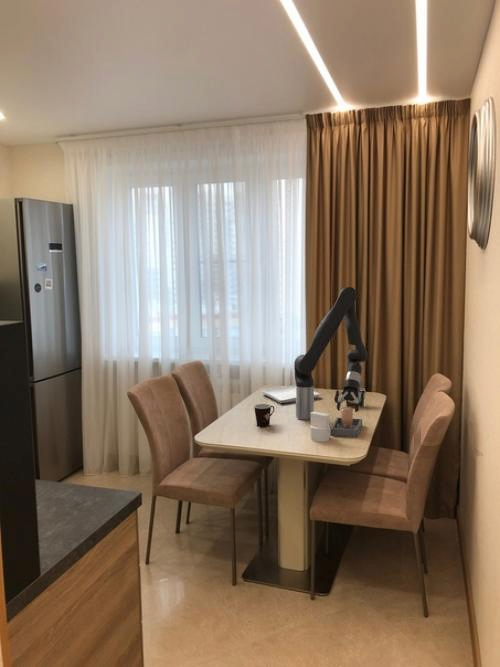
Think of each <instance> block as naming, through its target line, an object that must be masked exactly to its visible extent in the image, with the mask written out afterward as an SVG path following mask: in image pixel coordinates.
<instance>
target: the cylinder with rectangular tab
mask: <svg viewBox="0 0 500 667" xmlns="http://www.w3.org/2000/svg"><path fill="white" fill-rule="evenodd" d="M310 415H311V419H310V426H309V427H310V430H309V431H310V440H311V441H312V442H313V441H314V442H320V443H321V442H322V443H323V442H328V441H329V440H330V439H331V437H330V436H331V427H330V414H329V413H324V412H318V411H314V412H311V413H310Z"/></svg>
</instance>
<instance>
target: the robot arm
mask: <svg viewBox="0 0 500 667" xmlns="http://www.w3.org/2000/svg"><path fill="white" fill-rule="evenodd" d="M337 296H338V297H337V299H336V301H335V303H334V305H333V306H332V308H331V309H330V310H329V311H328V313H327V314H326V315H325V316H324V317H323V319H322V320H321V322H320V323H319V325H318V327H317V328H316V330H315V332H314V334H313V338H312V341H311V345H310V346H309V348H308V349H307V351H306V353H305V354H300V355H298V356H296V358H295V359H294V363H293V364H294V365H293V366H294V367H293V368H294V369H293V370H294V382H295V385H296V401H295V417H296V419H297V420H304V421H305V420H306V421H307V420H311V415H310V413H311V412H315V398H314V391H315V387H314V386H315V384H314V383H315V382H314V379H313V374H312V372H313V371H314V370H315V369H316V366H317V364H318V362H319V361H320V358H321V357H322V354H323V352H324V351H325V350H326V348H327V347H328V345H329V343H330V342H331V341H332V339H333V337H334V336H335V335H336V333H337V331H338V329H339V327H340V325H341V324H342V322H343V319H344V323H345V329H346V331H345V332H346V335H347V336H346V337H347V342H348V345H351V346H355V347H356V348H355V349H350V350H349V351H348V352H347V354H346V359H347V371H346V375H345V379H344V383H343V389H342V391H340V390H338V389H337V390H336V391H335V395H334V398H333V401H334V402H335V404H336V409H337V411H340V410H341V406H342V405H341V404H343V403H345V402H346V401H353V400H354V401H355V403H356V406H355V407H354V412H355V413H358V412H359V409H360V407H359V406H360V405H363V404H364V405H365V398H364V393H363V392H362V393H358V391H359V388H360V384H361V380H362V379H361V376H362V371H363V367H362V365H361V364H360V363H364V362H366V361H367V360H368V357H369V356H368V355H369V353H368V350H367V349H366V347H365V345H364V342H363V339H362V335H361V328H360V324H359V321H358V318H357V313H356V312H357V311H356V300H357V298H358V292H357V290H356V289H355V288H354V287H352V286H347V287H346V286H345V287H343V288H341V290H340V291H339V292H338V295H337ZM358 396H360V397H361V401H360V402H359V401H358V400H357V397H358Z"/></svg>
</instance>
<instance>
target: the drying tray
mask: <svg viewBox="0 0 500 667" xmlns="http://www.w3.org/2000/svg"><path fill="white" fill-rule="evenodd" d="M362 427H363V418H356V417H355V418H354V417H353V429H352V425H350V429H346V424H344V429H342V420H341V417H339V416H337V417H336V419H335V420H334V422H333V424H332V425H331V427H330V436H334V437H345V438H346V437H347V438H358V437H359V434H360V432H361V430H362Z"/></svg>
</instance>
